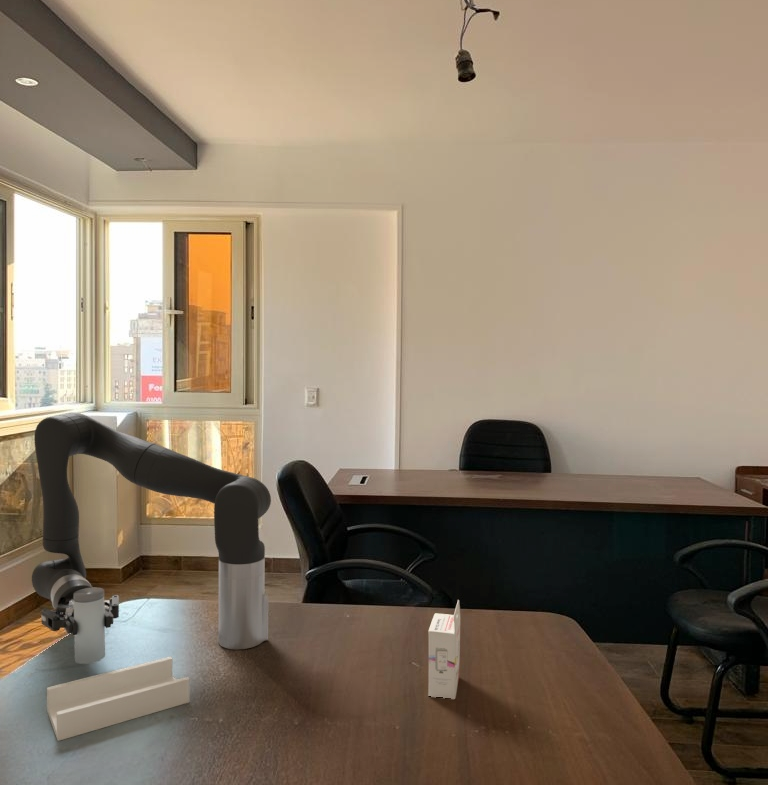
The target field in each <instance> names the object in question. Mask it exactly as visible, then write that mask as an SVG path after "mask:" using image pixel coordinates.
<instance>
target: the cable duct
mask: <svg viewBox="0 0 768 785" xmlns="http://www.w3.org/2000/svg"><path fill="white" fill-rule="evenodd" d="M189 703H190V678H189V676H184V677H181V678H177V679H176V678H175V677H174V675H173V658H172V656H167V657H162V658H160V659H155V660H151V661H148V662H144V663H143V662H142V663H140V664H136V665H132V666H128V667H125V668H120V669H116V670H112V671H108V672H104V673H100V674H97V675H90V676H88V677H84V678H79V679H76V680H72V681H68V682H64V683H59V684H55V685H52V686H48V687H46V713H47V715H48V718H49V720H50V723H51V726H52V729H53V732H54V734H55V737H56V740H57V742H58V741H59V742H60V741H62V740H66V739H69V738H73V737H77V736H79V735H83V734H86V733H89V732H93V731H96V730H100V729H104V728H107V727H110V726H115V725H117V724H120V723H124V722H128V721H131V720H133V719H137V718H140V717H144V716H147V715H151V714H154V713H157V712H162V711H165V710H167V709H170V708H174V707H178V706H181V705H182V706H183V705H185V704H189Z"/></svg>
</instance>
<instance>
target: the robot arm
mask: <svg viewBox="0 0 768 785" xmlns="http://www.w3.org/2000/svg"><path fill="white" fill-rule="evenodd" d="M34 448H35V449H34V450H35V455H36V462H37V469H38V476H39V481H40V488H41V497H42V507H43V508H42V512H43V517H42V518H43V519H42V547H43V548H42V549H44V551H46V552H48V553H53V554H61V555H66V556H67V558H60V559H54V560H46V561H42V562H41V563H39V564H37V565H36V566H35V567H34V569H33V571H32V574H31V585H32V587H33V589H34V591H35V592H36V594H38V595H39V596H41V597H43V598H45V599H48V600H50V601H51V605H52V608H53V609H49V608H42V609H41V612H40V614H41V617H40V618H41V621H40V622H41V624H42V626H44V627H45V628H47V629H49V630H51V631H53V632H58V631H60V629H63V630H64V631H66V632H67V634H71V635H72V636H74V635H77V622H76V620H75V619H74V593H75V592H76V591H78V590H81V589H85V588H92V587H93V585H92V584H91V583H90V581H88V580H87V579H86V578H87V570H86V566H85V563H84V561H83V556H82V554H81V548H80V542H79V539H80V537H79V534H80V533H79V532H80V511H79V507H78V503H77V501H76V498H75V496H74V494H73V492H72V490H71V487H70V484H69V480H68V467H69V466H68V465H69V459H70V457H72V456H76V455H86V456H91V457H93V458H97V459H100V460H101V461H105V462H107V463H108V464H110V465H112V466H113V467H114V468H115V469H116V471H118V474H120V475H122V476H121V477H124V479H125V480H127V481H129V482H130V483H133V484H134V485H136V486H140V487H142V488H144V489H147V490H150V491H152V492H155V493H159V494H163V495H169V496H175V497H182V498H183V497H184V498H193V499H200V500H203V501H206V502H209V503H212V504H214V506H213V510H214V511H213V519H214V520H213V521H214V522H213V523H214V527H213V528H214V541H215V547H216V548H217V551H218V631H217V636H218V639H217V640H218V644H219V646H221V647H223V648H225V649H229V650H245V649H250V648H254V647H256V646H257V647H258V645H260V644H262V643H263V642H265V641H268V640H269V594H268V593H266V592H265V579H266V578H265V576H266V575H265V561H266V560H265V559H266V558H265V555H266V554H265V552H266V551H265V550H266V549H265V548H266V546H265V543H264V542H263V541H262V540H260V536H259V535H260V532H259V528H260V527H259V519H260V518H262V517H263V516H264V515H265V514H266V513H267V512H268V510H269V508H270V507H271V504H272V497H271V493H270V491H269V489H268V488H267V486H266V485H265V484H264V483H263V482H262V481H260V480H259V479H256V478H255V477H251V476H247V475H244V474H238V473H235V472H233V471H232V472H231V471H227V470H223V469H220V468H216V467H214V466H211V465H209V464H206V463H204V462H202V461H199V460H197V459H195V458H193V457H190V456H187V455H184V454H182V453H179V452H177V451H175V450H172V449H170V448H168V447H165V446H162V445H159V444H157V443H153V442H150V441H148V440H144V439H141V438H140V437H136V436H133V435H130V434H127V433H124V432H121V431H119V430H116V429H114V428H112V427H111V426H108V425H106V424H104V423H102V422H100V421H98V420H96V419H94V418H93V417H90V416H88V415H87V414H84V413H80V412H66V413H61V414H56V415H51V416H47V417H45V418H43V419H41V421H39V422H38V423H37V425H36V427H35V430H34ZM119 598H120V596H119V594H114V595H111V597H110V598H108V599H104V615H105V628H106V629H109V628H111V626H112V625H113V624H114V619H119V617H120V610H119V609H120V604H119V603H120V602H119Z"/></svg>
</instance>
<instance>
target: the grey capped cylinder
mask: <svg viewBox="0 0 768 785" xmlns="http://www.w3.org/2000/svg"><path fill="white" fill-rule="evenodd" d="M104 601H105V589H104V588H102V587H95V586H94V587H93V586H92V588H85V589H81V590H78V591H76V592H75V593H74V619H75V620H76V622H77V635H73V636H74V639H73V640H74V662H75V663H77V664H80V665H88V664H93V663H97V662H100V661H101V660H103V659H104V658H105V657H106V637H105V636H106V629H105V628H106V627H105V615H104Z"/></svg>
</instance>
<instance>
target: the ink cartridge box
mask: <svg viewBox="0 0 768 785" xmlns="http://www.w3.org/2000/svg"><path fill="white" fill-rule="evenodd" d="M427 632H428V633H427V634H428V692H427V693H428V694H427V697H428V696H431V697H430V698H436V697H443V698H442V699H445V698H451V699H450V700H456V698H457V692H458V684H459V678H460V656H461V655H460V651H461V650H460V649H461V648H460V647H461V644H460V643H461V606H460V600H459V599H457V603H456V606H455V610H454V614H446V613H437V612H436V613H434V614H433V617H432V619H431V623H430V626H429V628H428V631H427Z"/></svg>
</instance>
